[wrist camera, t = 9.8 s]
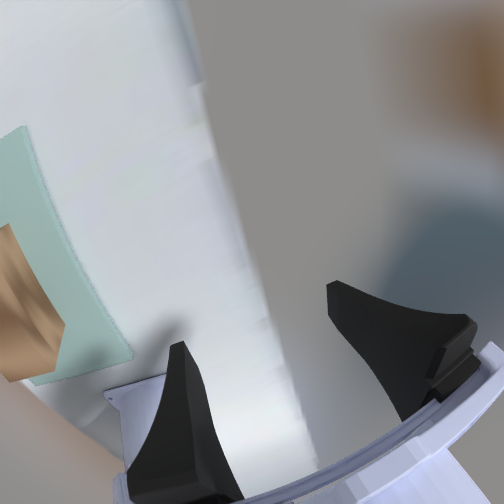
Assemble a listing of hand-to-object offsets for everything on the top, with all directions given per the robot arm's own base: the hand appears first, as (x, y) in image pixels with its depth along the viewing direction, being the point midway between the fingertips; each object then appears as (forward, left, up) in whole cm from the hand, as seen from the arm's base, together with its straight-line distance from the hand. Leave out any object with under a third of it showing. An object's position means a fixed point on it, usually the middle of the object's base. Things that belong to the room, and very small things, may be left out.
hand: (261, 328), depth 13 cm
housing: (+3, +16, -8) cm, 18 cm away
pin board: (+3, +16, -9) cm, 19 cm away
